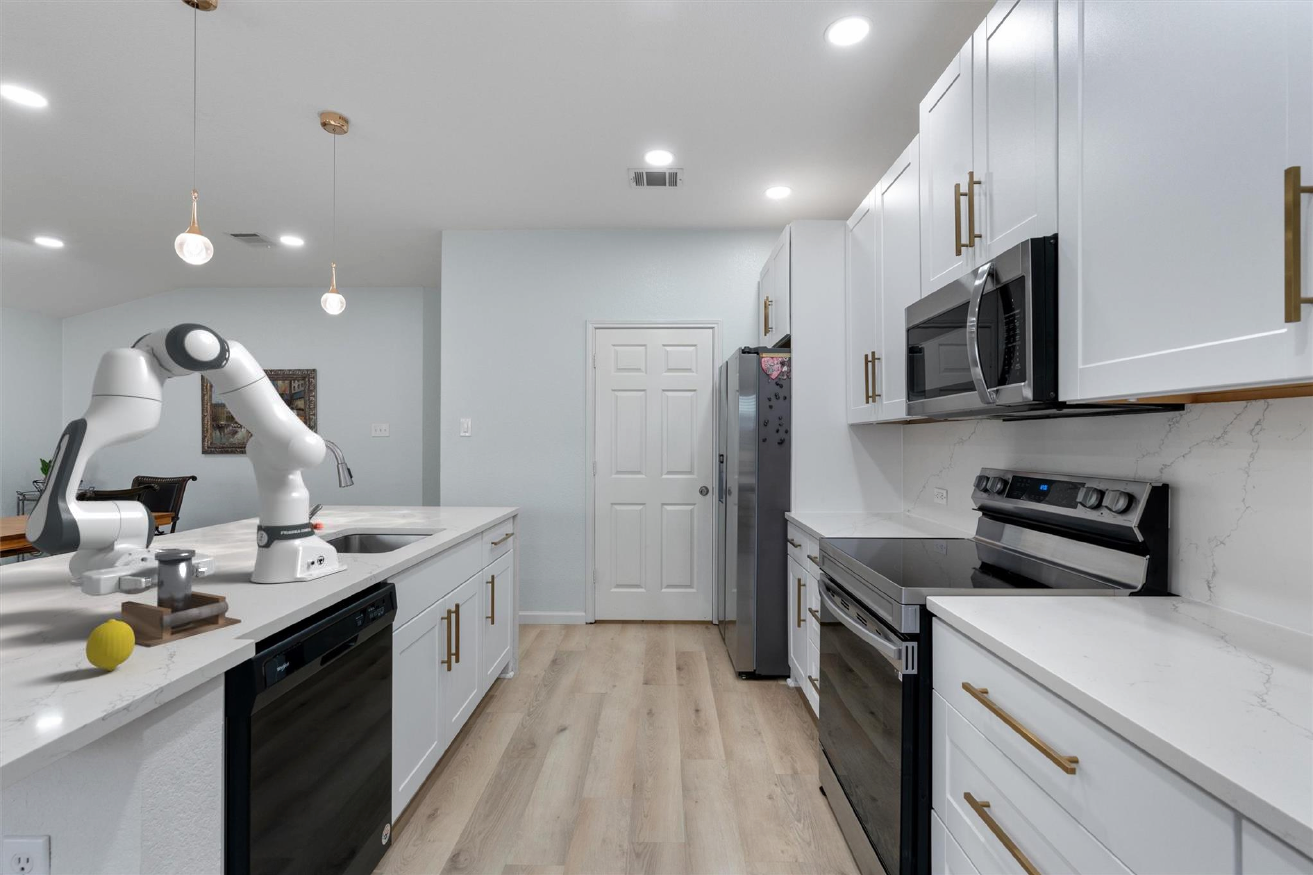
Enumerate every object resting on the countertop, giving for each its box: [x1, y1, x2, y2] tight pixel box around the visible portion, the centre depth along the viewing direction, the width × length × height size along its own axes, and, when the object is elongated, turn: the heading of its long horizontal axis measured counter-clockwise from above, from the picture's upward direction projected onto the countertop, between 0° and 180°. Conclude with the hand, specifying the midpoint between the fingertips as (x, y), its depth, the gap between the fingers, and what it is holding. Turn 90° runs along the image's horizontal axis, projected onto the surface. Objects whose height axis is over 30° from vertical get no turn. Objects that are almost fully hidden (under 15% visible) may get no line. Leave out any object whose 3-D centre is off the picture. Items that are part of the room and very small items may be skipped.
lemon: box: [85, 618, 136, 672], centre depth 90 cm, size 6×6×8 cm
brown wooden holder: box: [120, 590, 242, 648], centre depth 110 cm, size 15×15×6 cm
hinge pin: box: [154, 549, 196, 630], centre depth 110 cm, size 6×6×14 cm
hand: (176, 577), depth 110 cm, fingers open, 8 cm apart
